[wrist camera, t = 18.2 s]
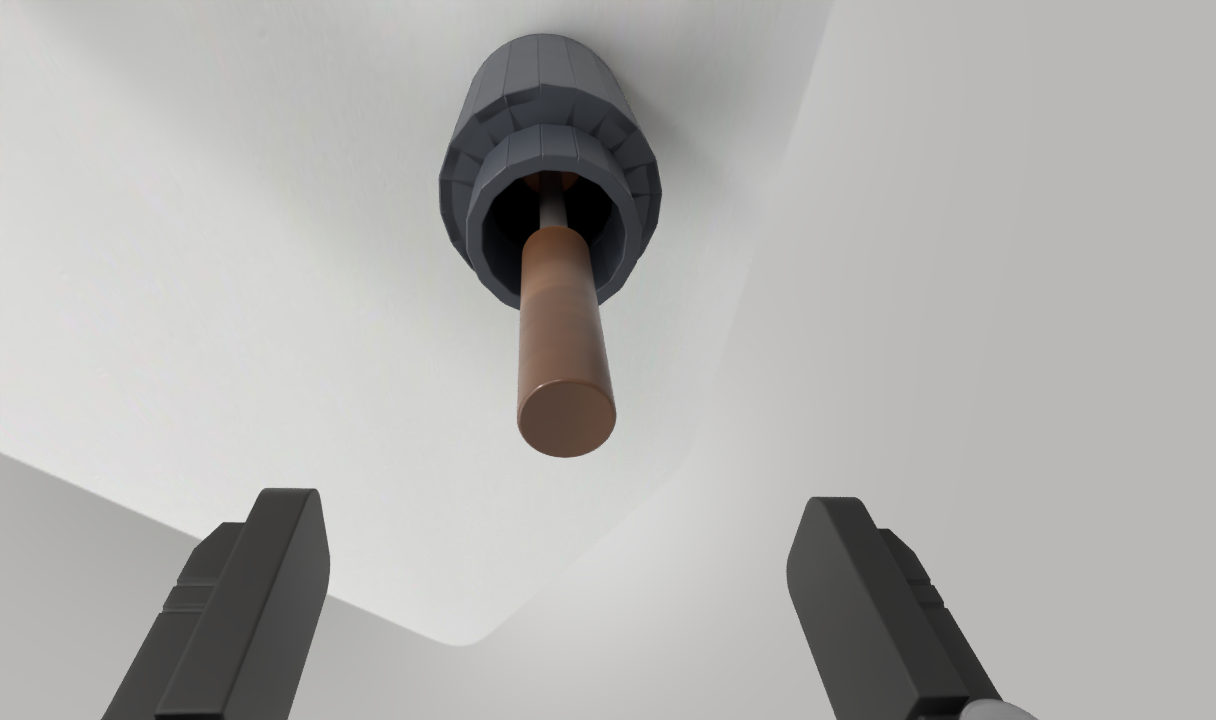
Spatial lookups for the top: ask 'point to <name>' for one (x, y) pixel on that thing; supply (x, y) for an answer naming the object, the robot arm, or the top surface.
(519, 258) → the steel bottle
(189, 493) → the top surface
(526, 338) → the bottle brush
